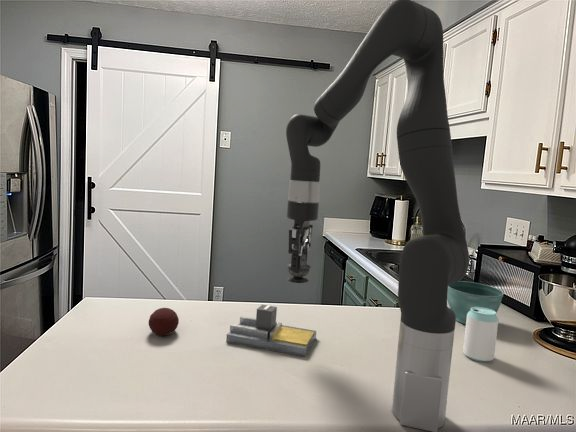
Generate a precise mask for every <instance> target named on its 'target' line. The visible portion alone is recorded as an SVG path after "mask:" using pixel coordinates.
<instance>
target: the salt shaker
mask: <svg viewBox="0 0 576 432" xmlns="http://www.w3.org/2000/svg"><path fill="white" fill-rule="evenodd" d="M294 249H297V246H295V248H294ZM306 252H307V251H306V243H305V247H303V249H302V255H301V267H300V271H292V270H291V263H287V265H286V266H287V271H288V273H289V275H290V276H289V277H288V278H287V281H288V282H290V283H294V284H306V283H309V279H308V278H307V277H306V276H307V275H308V274H309V272H310V269H311V268H312V266H311V265H309V264H308V263H307V264H306Z"/></svg>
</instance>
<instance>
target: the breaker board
mask: <svg viewBox="0 0 576 432" xmlns="http://www.w3.org/2000/svg"><path fill="white" fill-rule="evenodd" d="M316 338H317V330H314V329H307V328H301V327H296V326H295V327H294V326H290V325H284V324H283V323H282V322H280V321H278V322H277V321H276V326H275V327H274V328H273V330H272V331H271V332H270V335H269V330H264V329H258V328H256V317H249V316H243V315H241V316H240V317H239V323H238V324H234V323H231V324H230V325H229V332H228V333H226V343H229V344H235V345H239V346H244V345H245V346H244V347H249V346H250V347H249V348H255V349H259V350H260V349H261V350H265V349H266V350H267V351H271V352H277V353H281V354H288V355H293V356H298V357H303V358H304V357H306V356H307V354H308V352H309V350H310V349H311V348H312V346H313V344H314V343H315V341H316ZM266 350H265V351H266Z"/></svg>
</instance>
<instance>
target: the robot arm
mask: <svg viewBox="0 0 576 432" xmlns="http://www.w3.org/2000/svg"><path fill="white" fill-rule="evenodd" d="M391 56H396V57H399V58H401V59H403V61H404V66H405V70H406V79H407V94H406V98H405V101H404V103H403V106H402V109H401V112H400V115H399V117H398V120H397V125H396V142H397V151H398V160H399V165H400V168H401V171H402V174H403V177H404V178H405V181H406V182H407V185H408V186H409V188H410V189H411V192H412V194H413V196H414V198H415V200H416V203H417V205H418V208H419V212H420V216H421V217H420V218H421V224H422V235H418V236H415V237H413V238H411V239H410V240H408V241H407V243H405V245H404V247H403V248H402V251H401V254H400V258H399V268H398V285H397V286H398V288H397V301H398V307H399V310H400V323H399V331H398V343H397V350H396V351H397V352H396V363H395V374H394V382H393V384H394V385H393V395H392V397H393V398H392V406H391V407H392V408H391V411H392V414H393V415H394V417H396V419H397V420H398V421H399V425H401V426H406V427H408V428H409V427H410V428H415V429H420V430H424V431H427V432H438V431H439V429H440V428H442V427H443V426H444V425H445V421H446V414H447V413H446V411H447V406H448V395H449V394H448V393H449V383H450V376H451V367H452V366H451V365H452V356H453V347H454V341H455V340H454V339H455V330H456V315H455V313H454V311H453V310H452V309H450V307H448V300H447V293H448V285H451V284H454V283H456V282H458V281H462V279H463V278H465V276H466V275H467V273H468V270H469V265H470V253H469V247H468V243H467V242H468V241H467V239H466V235H465V230H464V229H465V228H464V226H463V221H462V217H461V212H460V208H459V201H458V192H457V182H456V174H455V173H456V172H455V166H454V155H453V153H454V152H453V143H452V135H451V128H450V123H449V117H448V106H447V96H446V88H445V78H444V77H445V76H444V29H443V24H442V21H441V18H440V17H439V15H438V14H437V13H436V12H435V11H433V10H432V9H431V8H429V7H426V6H424V5H422V4H420V3H418V2H416V1H413V0H394V1H393V2H390V4H389V5H388V6H386V7H385V9H384V10H383V11H382V12H381V13H380V15H378V18H377V19H376V20H375V21H374V23H373V24H372V26H371V28H370V29H369V31H368V32H367V34H366V35H365V37H364V38H363V40H362V41H361V43H360V44H359V45H358V47H357V49H356V50H355V52H354V54H353V55H352V56H351V58H350V60H349V61H348V62H347V64H346V66H345V67H344V69H343V70H342V71H341V72H340V73H339V75H338V76H337V77H336V78H335V79H334V81H333V82H332V83H331V84H330V85H329V86H328V87H327V88H326V89H325V91H323V93H322V94H321V95H319V97H318V98H317V99H316V101H315V102H314V104H313V111H314V114H315V116H313V115H308V114H303V113H297V114H296V113H295V114H294V115H293V116H291V117H290V119H289V120H288V122H287V124H286V130H285V135H286V142H287V147H288V152H289V158H290V163H291V164H290V177H289V179H290V180H289V186H288V193H287V194H288V195H287V210H286V217H287V219H289V220H293V221H294V222H293V226H292V228H289V230H288V254H290V255H291V257H290V260H291V261H290V264H291V270H292V271H300V267H301V255H302V249H303V247H305V243H306V251H307V252H306V264H307V265H308V252H309V250H310V248H311V247H312V237H313V236H312V235H313V227H314V225H313V224H312V223H310V222H313V221H317V220H318V218H319V210H320V209H319V208H320V207H319V206H320V205H319V204H320V192H321V191H320V189H321V188H320V179H321V161H320V158H318V157H316V156H314V155H312V154H311V153H310V150H309V147H315V148H317V147H321V146H323V145H325V144H326V143H327V142H329V140H330V139H331V137H333V134H334V132H335V131H336V129H337V127H338V125H339V124H340V122H341V120H343V119H344V118H345V117H347V115H348V114H349V113H350V112H351V111H352V110H353V109H354V108H355V107H356V106H357V105H358V104H359V103H360V102H361V99H363V96H364V93H365V91H366V88H367V85H368V81H369V80H370V77H371V75H372V74H373V72H375V70H376V69H377V68H378V66H379V65H381V64H382V63H383V62H384V61H386V59H388V58H389V57H391ZM295 246H297V249H294V248H295Z"/></svg>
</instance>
